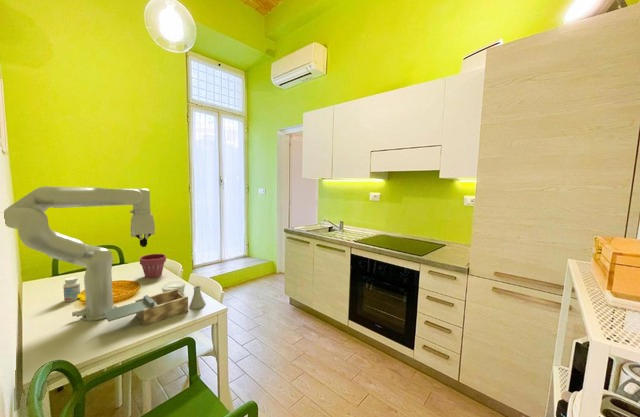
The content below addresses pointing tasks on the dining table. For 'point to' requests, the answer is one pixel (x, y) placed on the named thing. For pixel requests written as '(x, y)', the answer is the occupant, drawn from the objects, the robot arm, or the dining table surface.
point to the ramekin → (174, 286)
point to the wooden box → (164, 307)
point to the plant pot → (153, 265)
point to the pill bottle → (71, 289)
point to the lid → (129, 309)
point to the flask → (197, 299)
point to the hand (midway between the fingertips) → (143, 246)
